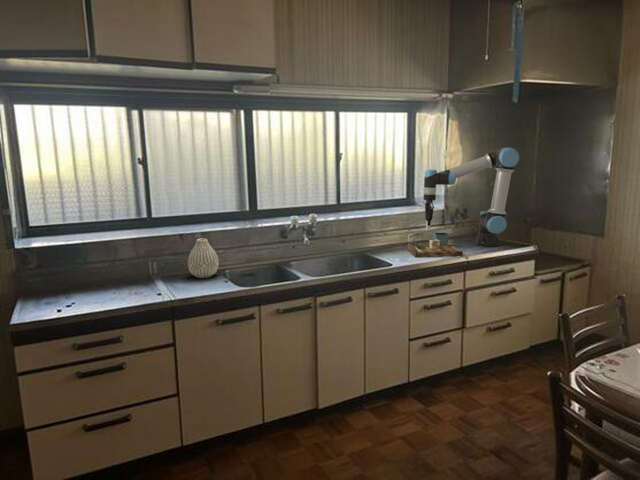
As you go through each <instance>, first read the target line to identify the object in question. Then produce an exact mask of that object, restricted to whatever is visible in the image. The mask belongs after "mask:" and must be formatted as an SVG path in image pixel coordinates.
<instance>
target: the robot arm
mask: <svg viewBox="0 0 640 480" xmlns="http://www.w3.org/2000/svg"><path fill="white" fill-rule="evenodd" d="M519 161H520V154H519V152H518V151H517V150H516V149H515V148H512V147H500V148H497V149H495V150H493V151H490V152H488V153H486V154H485V156H482V157H478V158H475V159H473V160H471V161H468V162H465V163H462V164H459V165H457V166H454V167H451V168H448V169H445V170H443V171H437V169H425V171H424V179H423V180H424V181H423V182H424V183H423V193H424V194H423V200H424V201H425V203H424V215H425V217H424V218H425V231H431V230H432V229H431V228H432V220H433V218H434V217H433V215H434V209H435V205H434V201H435V200H436V198H437V196H436V194H437V185H438V186H439V185H440V186H441V185H443V186H447V185H448V186H453V185H455V184H456V182H457V179H459V178H462V177H464V176H467V175H471V174H473V173H475V172H479V171H481V170H485V169H487V168H491V169H492V168H494V169H495V171H496V175H495V181H494V187H493V193H492V197H491V205H490V208H489V209H487V210H481V211H480V212H479V225H478V235H477V238H476V239H475V246H476V245H477V246H481V247H489V248H490V247H491V248H492V247H493V248H494V247H499V246H500V239H499V234H501V233H503V232H504V231H505V230H506V229H507V225H508V222H507V220H506V218H507V212H506V204H507V199H508V193H509V188H510V182H511V178H512V177H511V176H512V173H514V172H515V169H516V165H518V163H519Z"/></svg>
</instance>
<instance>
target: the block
mask: <svg viewBox="0 0 640 480" xmlns="http://www.w3.org/2000/svg"><path fill="white" fill-rule="evenodd" d="M429 245H430V248H431V249H440V241H439V240H438V239H435V240H434V239H429Z"/></svg>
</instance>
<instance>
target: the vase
mask: <svg viewBox="0 0 640 480" xmlns="http://www.w3.org/2000/svg"><path fill="white" fill-rule="evenodd" d="M219 261H220V260H219V256H218V254H217V252H216V250H215V249H214V248H213V247H212V246H211V245H210V241H208V239H207V238H205V237H204V238H202V237H201V238H198V239H196V241H195V244H194V246H193V248H192V249H191V251H190V253H189V255H188V260H187V266H188V267H187V268H188V269H189V272H190V274H192V275H193V276H194V277H195V278H197V279H198V278H199V279H206V278H211V277H212V276H214V275H215V274H216V273H217V271H218V268H219V265H220V264H219V263H220V262H219Z"/></svg>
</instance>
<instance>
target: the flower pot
mask: <svg viewBox="0 0 640 480" xmlns="http://www.w3.org/2000/svg"><path fill="white" fill-rule="evenodd" d="M449 238H450V234H449V233H447V232H433V240H435V239H438V240H439V241H440V245H449V240H450V239H449Z"/></svg>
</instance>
